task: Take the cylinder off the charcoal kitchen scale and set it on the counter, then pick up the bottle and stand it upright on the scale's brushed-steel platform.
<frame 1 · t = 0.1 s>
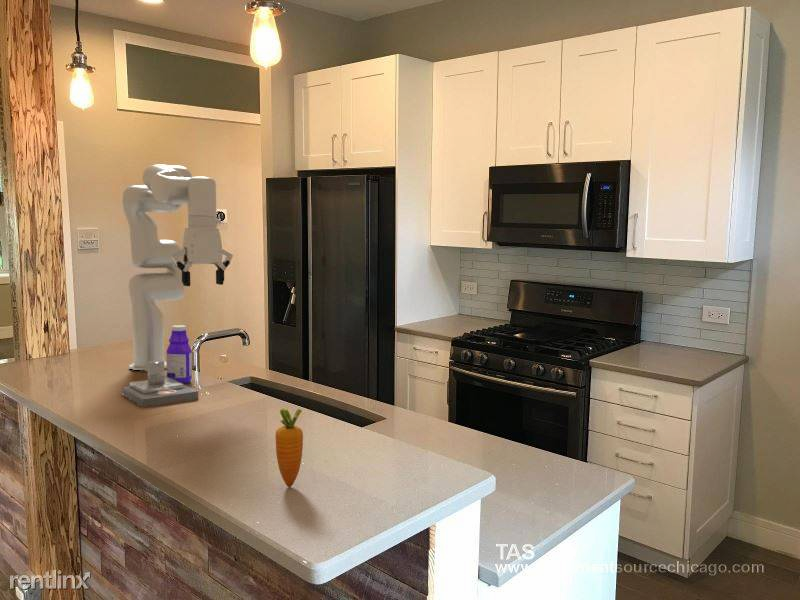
hand: (203, 285, 185), 31 cm above the table, tool pointing down, fingers open, 9 cm apart
scale: (159, 396, 186), on the table
platform: (156, 385, 187), point 3 cm above the table, slide at -0.9 cm, touching cylinder
carrot: (289, 488, 123), on the table
bottle: (179, 383, 203), on the table
cylinder: (156, 383, 187), point 3 cm above the table, touching platform
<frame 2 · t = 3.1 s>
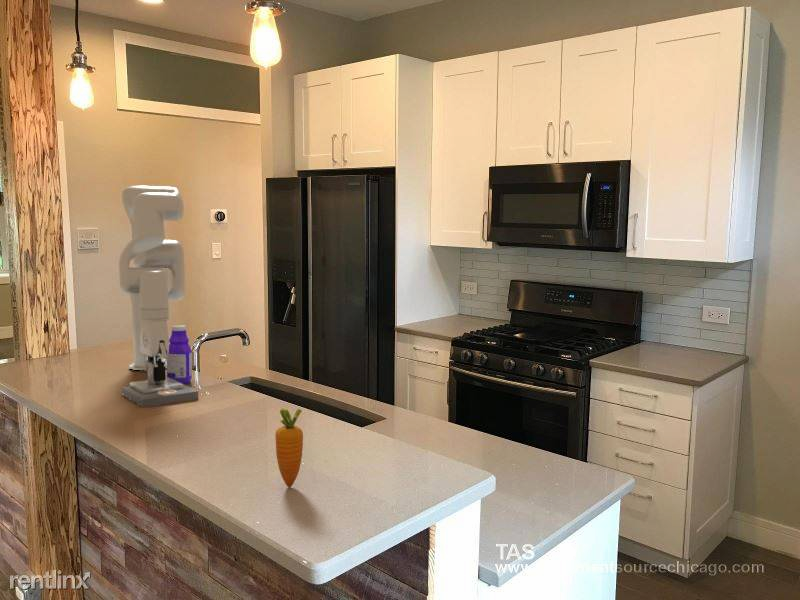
hand: (156, 378, 187), 5 cm above the table, tool pointing down, fingers closed on cylinder, 4 cm apart
cylinder: (156, 383, 187), point 3 cm above the table, touching gripper, platform
everything else where it was.
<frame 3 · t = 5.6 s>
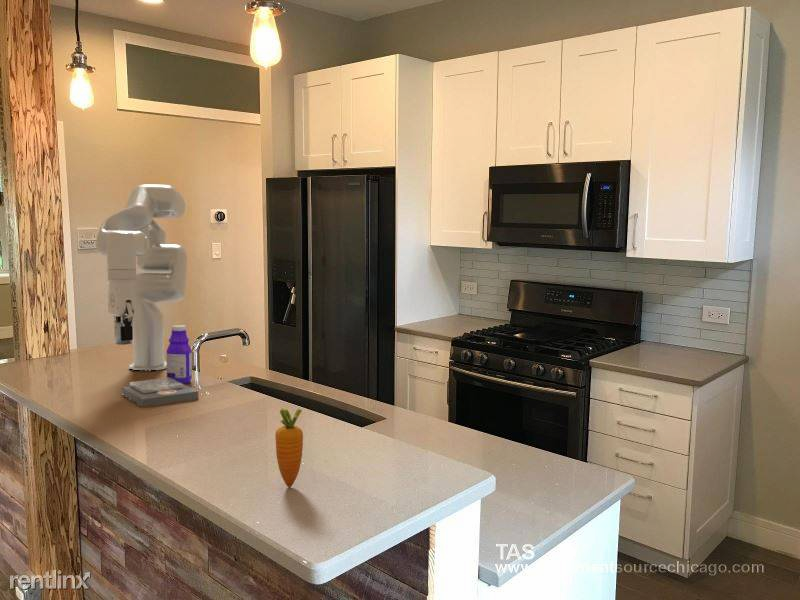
hand: (123, 338, 191), 15 cm above the table, tool pointing down, fingers closed on cylinder, 4 cm apart
platform: (156, 385, 187), point 3 cm above the table, slide at -0.9 cm
cylinder: (123, 343, 191), point 14 cm above the table, touching gripper
everything else where it was.
when the fingers open (2 cm above the table, at t = 8.2 s): cylinder stays where it is, on the table.
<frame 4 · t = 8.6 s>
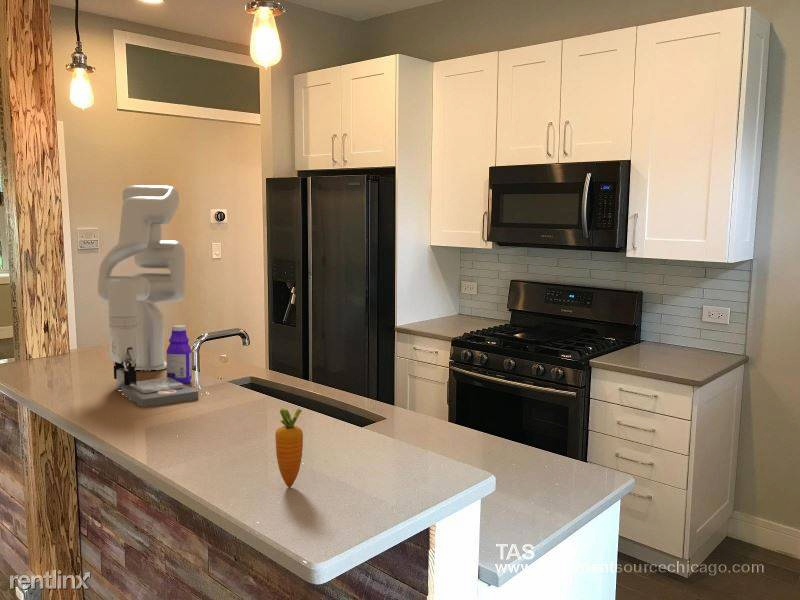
hand: (125, 381, 193), 2 cm above the table, tool pointing down, fingers open, 8 cm apart
platform: (156, 385, 187), point 3 cm above the table, slide at -0.8 cm, touching gripper
cylinder: (125, 390, 193), on the table
everything else where it was.
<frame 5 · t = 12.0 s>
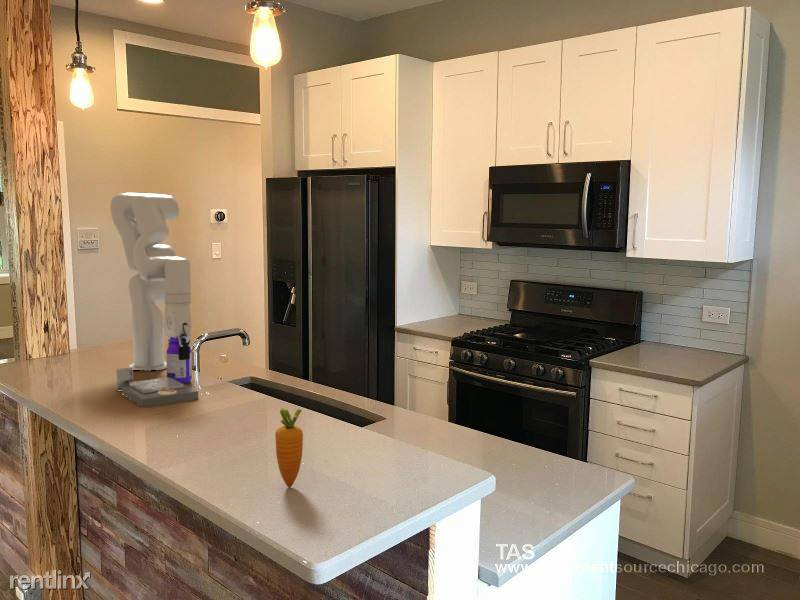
hand: (179, 357, 202), 8 cm above the table, tool pointing down, fingers closed on bottle, 7 cm apart
platform: (156, 384, 187), point 3 cm above the table, slide at -0.8 cm
bottle: (179, 383, 203), on the table, touching gripper
everything else where it was.
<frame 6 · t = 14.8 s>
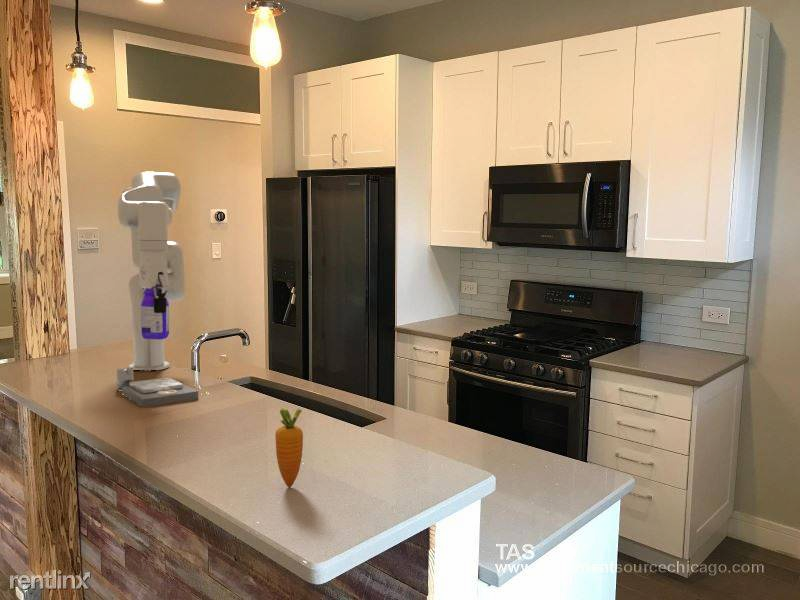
hand: (154, 310, 185), 24 cm above the table, tool pointing down, fingers closed on bottle, 7 cm apart
bottle: (155, 339, 186), point 16 cm above the table, touching gripper
everything else where it was.
when the fingers open (13 cm above the table, at t = 17.2 s): bottle drops 2 cm, resting on platform.
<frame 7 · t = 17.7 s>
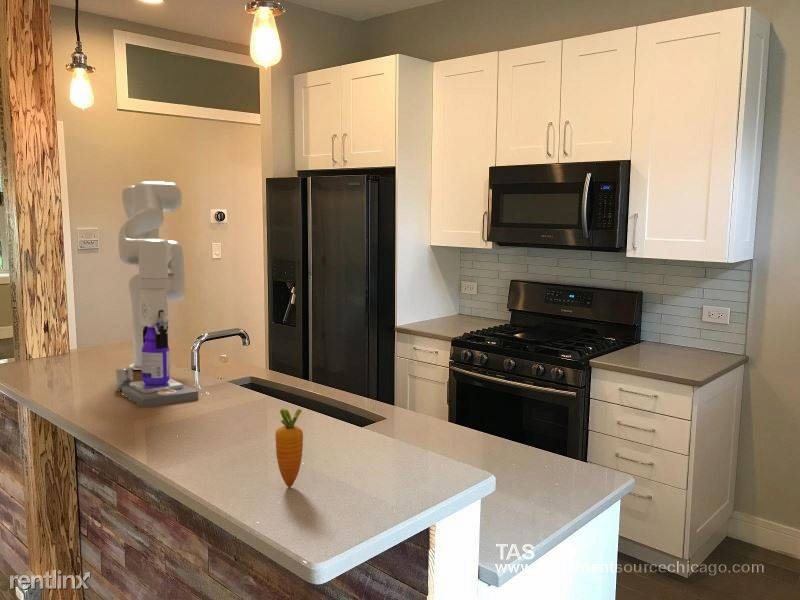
hand: (155, 345, 186), 14 cm above the table, tool pointing down, fingers open, 9 cm apart
platform: (156, 385, 187), point 3 cm above the table, slide at -0.9 cm, touching bottle
bottle: (156, 383, 187), point 3 cm above the table, touching platform
everything else where it was.
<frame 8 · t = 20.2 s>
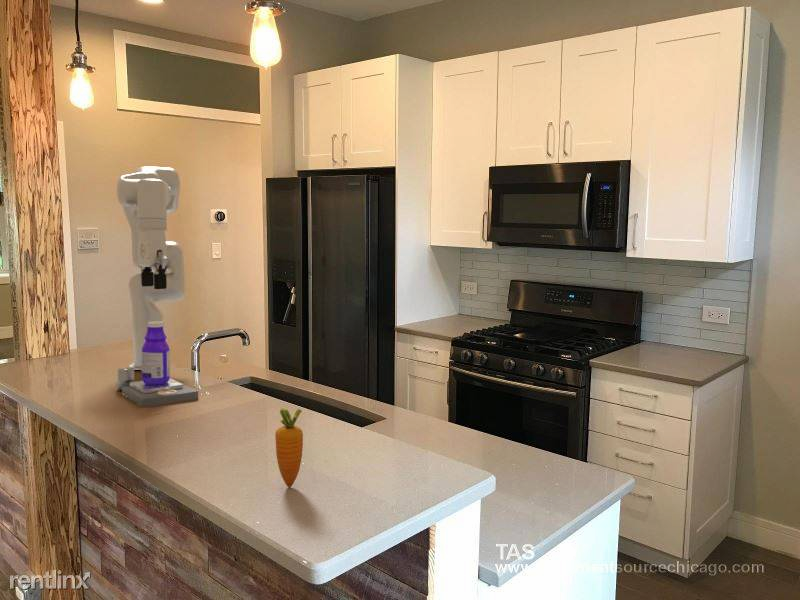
hand: (153, 287, 184), 30 cm above the table, tool pointing down, fingers open, 9 cm apart
nothing on the table moved.
at the end: bottle inside the target area on the scale (0.2 cm from its centre), point 3.1 cm above the scale's base; bottle tilted 0°; cylinder inside the target area (0.4 cm from its centre), on the table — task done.
